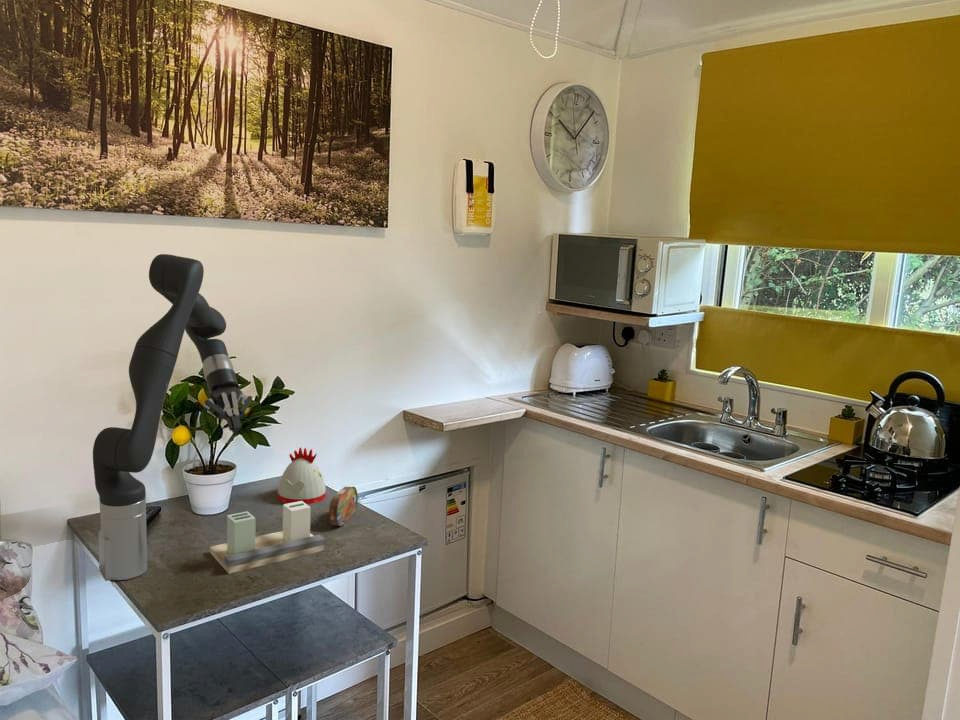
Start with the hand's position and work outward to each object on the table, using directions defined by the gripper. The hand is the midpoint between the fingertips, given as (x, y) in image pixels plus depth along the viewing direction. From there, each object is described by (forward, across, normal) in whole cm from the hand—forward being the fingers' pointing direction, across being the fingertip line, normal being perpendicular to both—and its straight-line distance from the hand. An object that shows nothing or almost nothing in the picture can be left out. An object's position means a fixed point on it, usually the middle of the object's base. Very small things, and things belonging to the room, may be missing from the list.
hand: (236, 430), depth 187 cm
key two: (+31, -6, +4) cm, 31 cm away
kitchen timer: (+10, +24, +28) cm, 38 cm away
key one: (+30, +8, +4) cm, 32 cm away
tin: (+25, +26, +12) cm, 39 cm away
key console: (+31, +1, +6) cm, 32 cm away
